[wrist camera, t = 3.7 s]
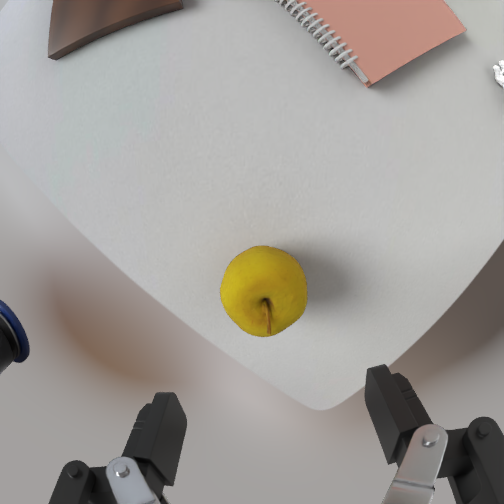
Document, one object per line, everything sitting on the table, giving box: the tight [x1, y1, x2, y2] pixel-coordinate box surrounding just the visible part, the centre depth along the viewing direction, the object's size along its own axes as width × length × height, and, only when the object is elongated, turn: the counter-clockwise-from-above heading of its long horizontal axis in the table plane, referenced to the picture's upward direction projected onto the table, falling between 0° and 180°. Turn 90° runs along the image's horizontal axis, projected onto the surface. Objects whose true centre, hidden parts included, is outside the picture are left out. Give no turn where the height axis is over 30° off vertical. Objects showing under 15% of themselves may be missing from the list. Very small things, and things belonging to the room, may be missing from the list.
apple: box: [220, 246, 307, 337], centre depth 21 cm, size 6×6×8 cm
